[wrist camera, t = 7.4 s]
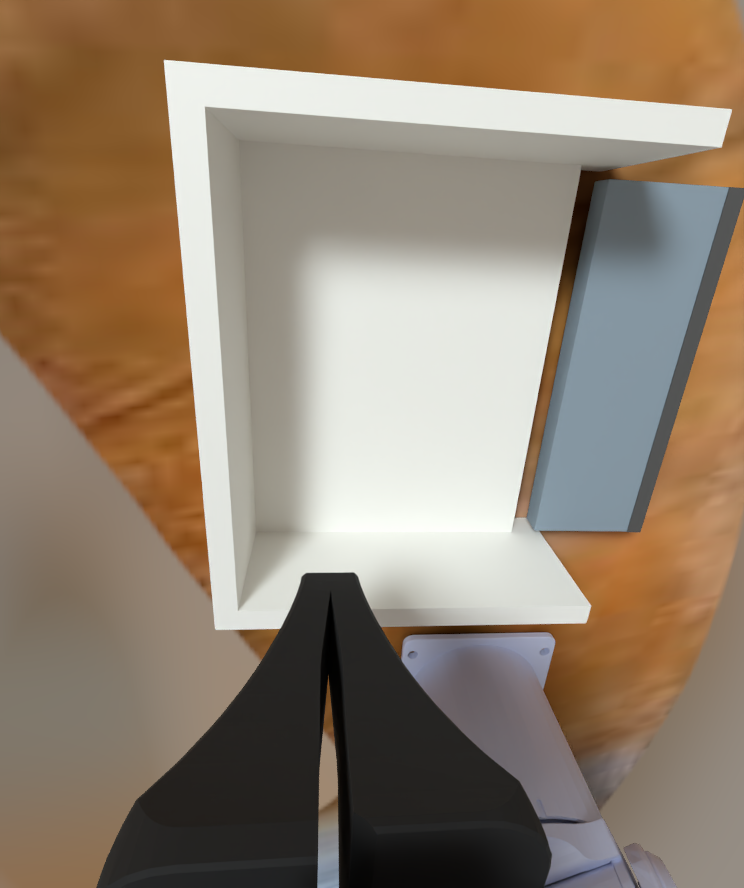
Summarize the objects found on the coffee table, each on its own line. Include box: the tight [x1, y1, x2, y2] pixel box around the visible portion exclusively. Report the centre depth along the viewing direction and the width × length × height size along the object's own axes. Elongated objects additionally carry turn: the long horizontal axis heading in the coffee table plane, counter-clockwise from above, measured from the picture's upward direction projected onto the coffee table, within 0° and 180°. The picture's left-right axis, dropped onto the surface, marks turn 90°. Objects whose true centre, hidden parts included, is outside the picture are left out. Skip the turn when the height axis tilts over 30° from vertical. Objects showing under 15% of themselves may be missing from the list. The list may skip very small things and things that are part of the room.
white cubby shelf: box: [164, 60, 732, 630], centre depth 17 cm, size 16×13×6 cm
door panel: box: [527, 179, 744, 532], centre depth 20 cm, size 14×1×5 cm
